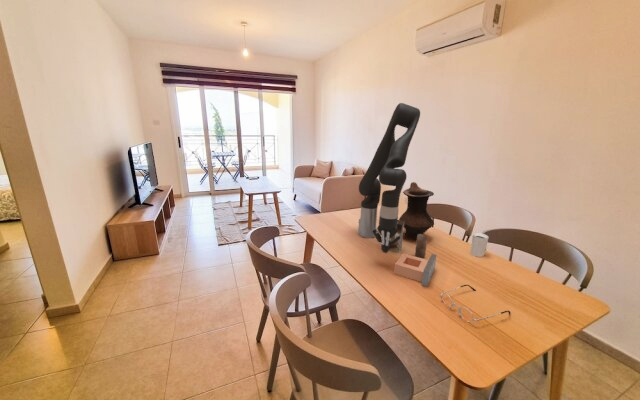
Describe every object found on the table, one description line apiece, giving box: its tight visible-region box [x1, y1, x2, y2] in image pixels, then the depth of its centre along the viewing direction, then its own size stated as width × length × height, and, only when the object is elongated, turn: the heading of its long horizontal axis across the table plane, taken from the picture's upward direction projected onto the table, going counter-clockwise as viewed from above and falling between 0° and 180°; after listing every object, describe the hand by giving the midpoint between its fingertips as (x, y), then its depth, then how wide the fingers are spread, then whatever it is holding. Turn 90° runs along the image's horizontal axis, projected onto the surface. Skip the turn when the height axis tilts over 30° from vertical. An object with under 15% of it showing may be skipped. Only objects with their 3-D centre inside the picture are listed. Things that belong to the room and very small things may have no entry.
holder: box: [393, 253, 429, 283], centre depth 111 cm, size 11×11×4 cm
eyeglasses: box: [440, 284, 511, 323], centre depth 91 cm, size 16×19×5 cm
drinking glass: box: [470, 232, 489, 258], centre depth 129 cm, size 7×7×10 cm
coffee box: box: [381, 219, 405, 253], centre depth 131 cm, size 9×6×16 cm
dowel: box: [414, 234, 428, 259], centre depth 123 cm, size 4×4×12 cm
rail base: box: [421, 253, 437, 288], centre depth 112 cm, size 24×16×8 cm, turn 57°
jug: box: [398, 181, 435, 241], centre depth 146 cm, size 21×18×30 cm
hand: (385, 251), depth 116 cm, fingers closed
